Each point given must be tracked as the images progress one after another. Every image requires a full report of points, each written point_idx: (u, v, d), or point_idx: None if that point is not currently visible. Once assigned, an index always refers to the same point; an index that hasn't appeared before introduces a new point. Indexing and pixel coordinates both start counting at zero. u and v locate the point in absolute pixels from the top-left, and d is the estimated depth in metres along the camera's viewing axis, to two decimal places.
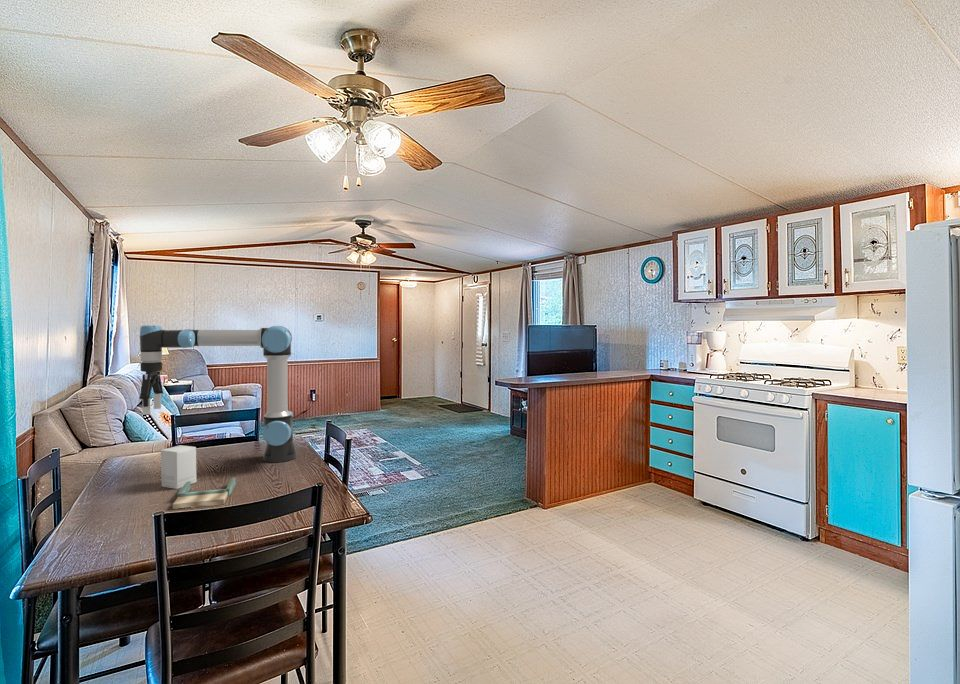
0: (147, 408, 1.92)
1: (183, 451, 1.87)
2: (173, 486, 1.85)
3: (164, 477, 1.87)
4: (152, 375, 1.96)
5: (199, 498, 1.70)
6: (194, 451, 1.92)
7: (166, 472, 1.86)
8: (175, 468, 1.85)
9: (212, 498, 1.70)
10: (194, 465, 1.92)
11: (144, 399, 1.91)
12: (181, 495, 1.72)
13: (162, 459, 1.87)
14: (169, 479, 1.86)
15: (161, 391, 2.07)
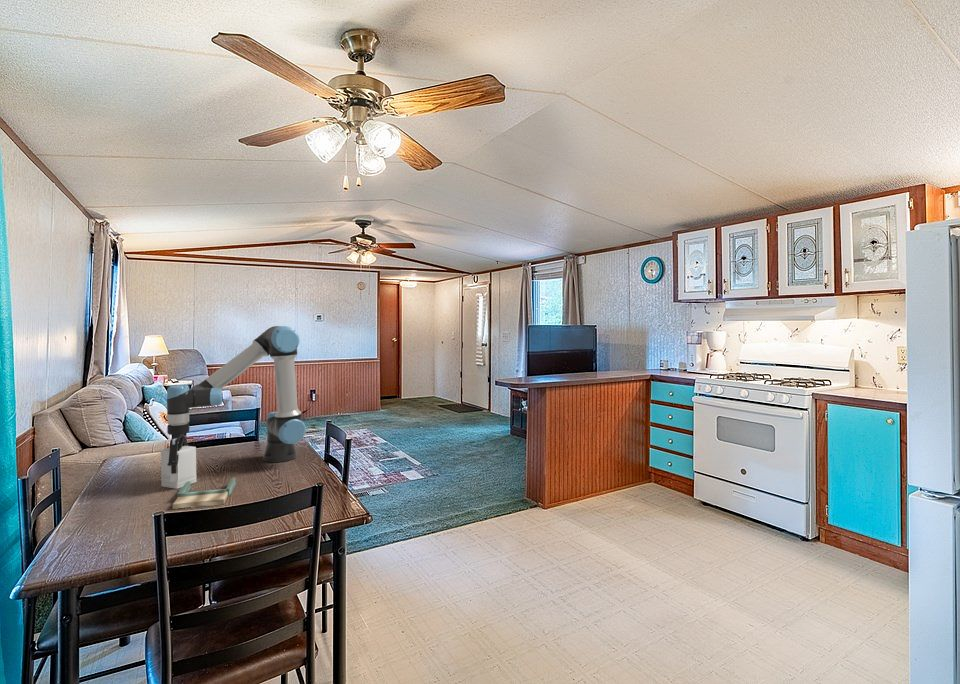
0: (175, 475, 1.84)
1: (183, 451, 1.87)
2: (173, 486, 1.85)
3: (164, 477, 1.87)
4: (179, 438, 1.87)
5: (199, 498, 1.70)
6: (194, 451, 1.92)
7: (166, 472, 1.86)
8: None
9: (212, 498, 1.70)
10: (194, 465, 1.92)
11: (172, 466, 1.82)
12: (181, 495, 1.72)
13: (162, 459, 1.87)
14: (169, 478, 1.86)
15: None
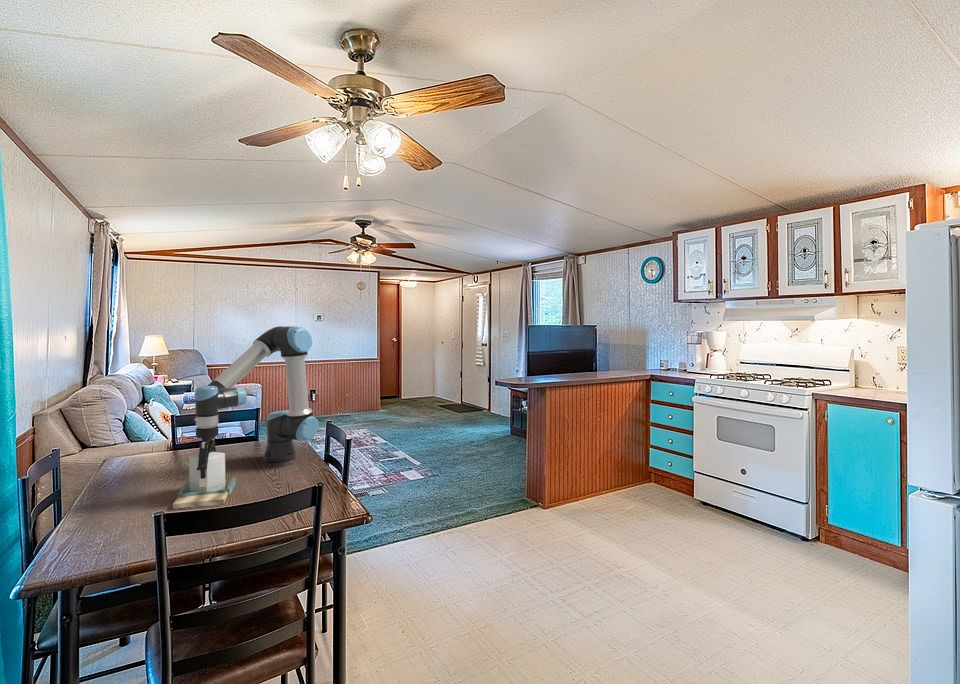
0: (204, 480, 1.75)
1: (212, 458, 1.78)
2: None
3: (193, 485, 1.78)
4: (208, 442, 1.78)
5: (199, 498, 1.70)
6: (223, 457, 1.83)
7: (194, 479, 1.78)
8: None
9: (212, 498, 1.70)
10: (223, 472, 1.83)
11: (201, 470, 1.73)
12: (181, 495, 1.72)
13: (190, 466, 1.78)
14: (198, 487, 1.77)
15: None
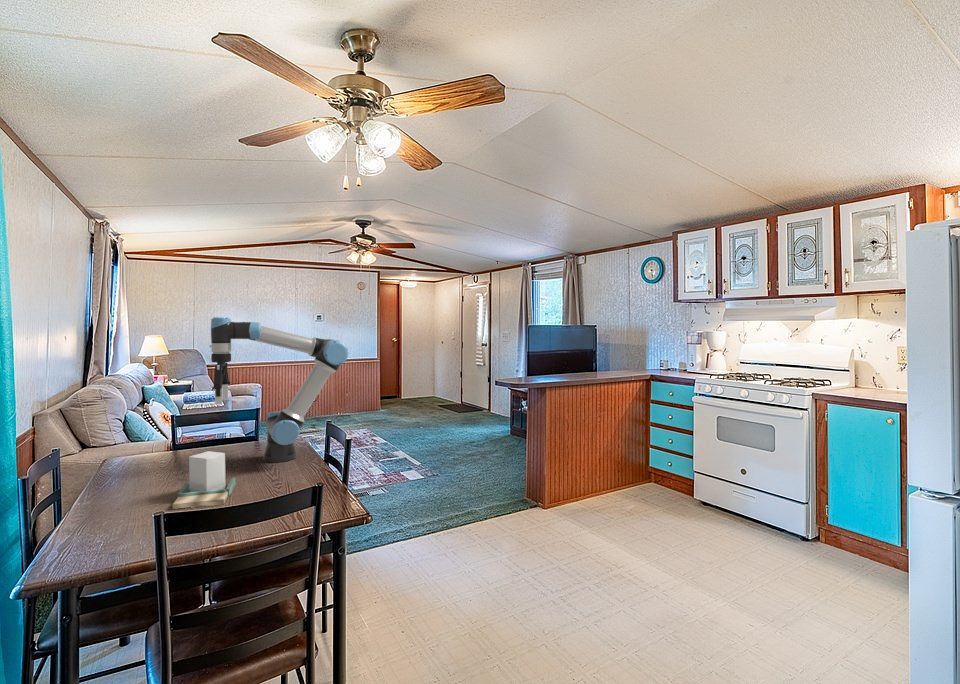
0: (219, 398, 1.96)
1: (212, 458, 1.78)
2: None
3: (193, 485, 1.78)
4: (223, 366, 2.00)
5: (199, 498, 1.70)
6: (223, 457, 1.83)
7: (194, 479, 1.78)
8: (204, 476, 1.76)
9: (212, 498, 1.70)
10: (223, 472, 1.83)
11: (217, 389, 1.95)
12: (181, 495, 1.72)
13: (190, 466, 1.78)
14: (198, 487, 1.77)
15: (228, 382, 2.11)
